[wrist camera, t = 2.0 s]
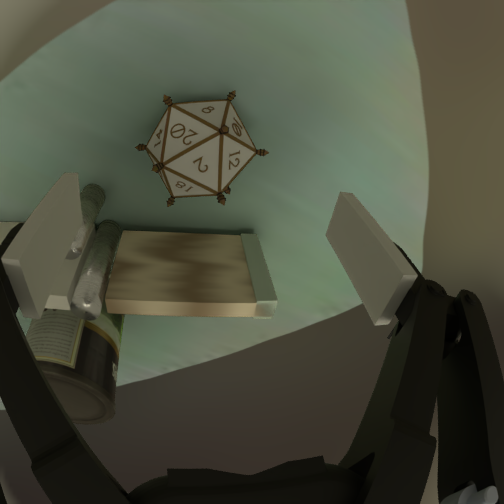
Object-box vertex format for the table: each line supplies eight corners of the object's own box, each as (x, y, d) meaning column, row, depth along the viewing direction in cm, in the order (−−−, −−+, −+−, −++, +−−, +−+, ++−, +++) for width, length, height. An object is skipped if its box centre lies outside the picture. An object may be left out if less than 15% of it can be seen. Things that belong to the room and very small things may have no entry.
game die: (179, 132, 28) (95, 166, 21) (227, 63, 22) (135, 72, 15) (242, 200, 29) (171, 256, 22) (305, 139, 23) (239, 180, 16)
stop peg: (82, 206, 27) (56, 258, 21) (80, 183, 25) (50, 232, 19) (105, 207, 27) (84, 260, 21) (104, 184, 26) (79, 233, 20)
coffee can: (141, 284, 34) (131, 399, 23) (110, 334, 38) (98, 432, 27) (58, 245, 29) (13, 355, 18) (39, 302, 33) (9, 400, 22)
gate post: (99, 240, 29) (74, 319, 21) (97, 219, 28) (67, 296, 20) (122, 241, 30) (102, 321, 22) (120, 220, 29) (97, 299, 20)
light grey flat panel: (-6, 233, 26) (-46, 296, 18) (-9, 221, 25) (-53, 283, 17) (96, 236, 29) (70, 310, 21) (94, 223, 28) (66, 296, 20)
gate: (124, 245, 29) (108, 315, 22) (122, 228, 28) (104, 296, 21) (253, 250, 32) (272, 318, 25) (256, 234, 31) (278, 300, 24)
